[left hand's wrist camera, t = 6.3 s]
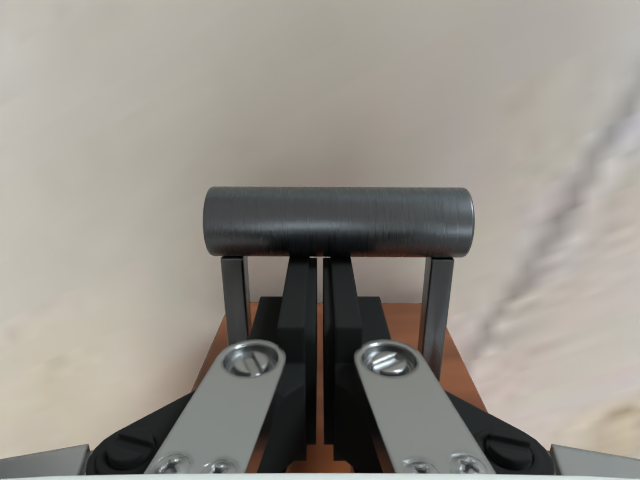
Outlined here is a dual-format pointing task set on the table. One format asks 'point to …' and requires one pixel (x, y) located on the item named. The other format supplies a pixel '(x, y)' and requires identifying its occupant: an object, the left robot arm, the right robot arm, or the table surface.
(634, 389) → the table surface
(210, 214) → the drawer
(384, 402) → the left robot arm
